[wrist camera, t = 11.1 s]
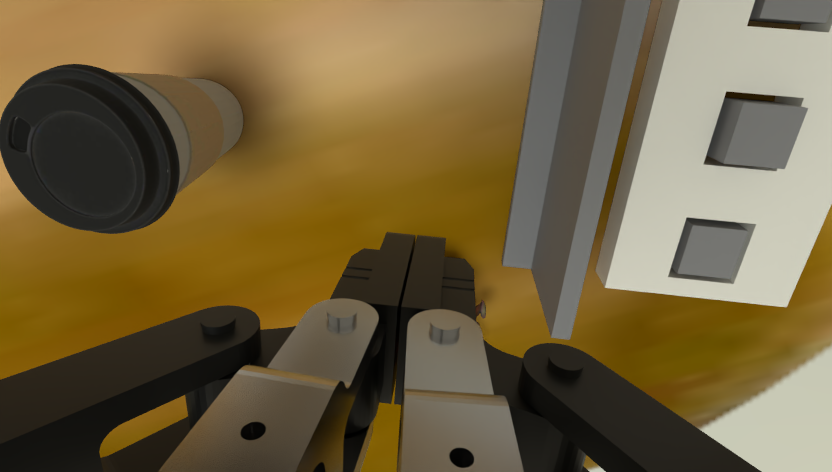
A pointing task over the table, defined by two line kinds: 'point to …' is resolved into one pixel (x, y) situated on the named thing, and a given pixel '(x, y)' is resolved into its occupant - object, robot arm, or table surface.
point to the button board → (710, 179)
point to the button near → (791, 11)
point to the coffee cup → (113, 143)
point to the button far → (709, 248)
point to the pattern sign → (570, 144)
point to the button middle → (756, 132)
